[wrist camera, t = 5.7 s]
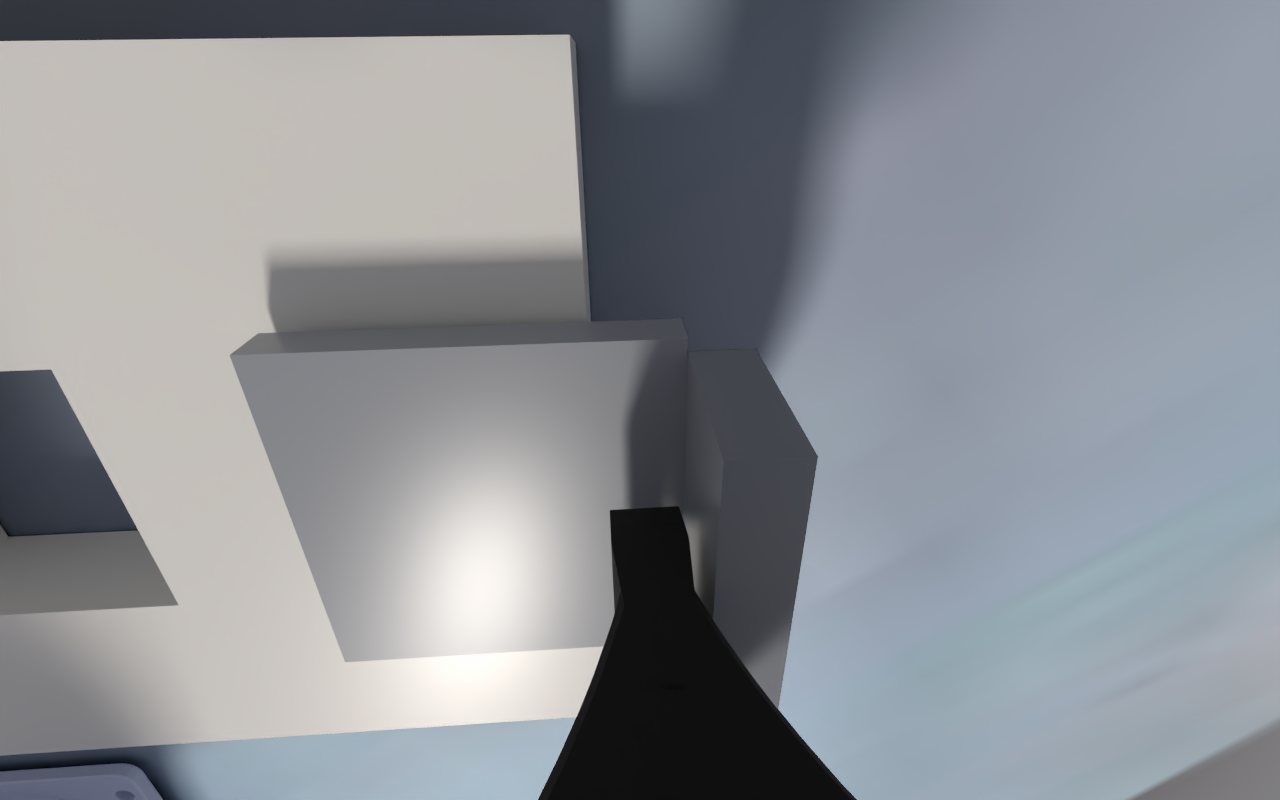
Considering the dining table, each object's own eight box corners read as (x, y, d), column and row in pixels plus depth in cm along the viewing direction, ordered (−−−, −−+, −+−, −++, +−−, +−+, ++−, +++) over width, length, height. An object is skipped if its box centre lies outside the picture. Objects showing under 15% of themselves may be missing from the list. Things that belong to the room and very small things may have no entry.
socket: (608, 633, 16) (610, 714, 14) (0, 669, 16) (-93, 761, 14) (575, 43, 10) (569, 34, 8) (-493, 55, 9) (-827, 50, 7)
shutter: (723, 606, 12) (765, 788, 9) (359, 627, 12) (275, 824, 9) (744, 316, 9) (820, 440, 6) (258, 333, 9) (73, 473, 6)
